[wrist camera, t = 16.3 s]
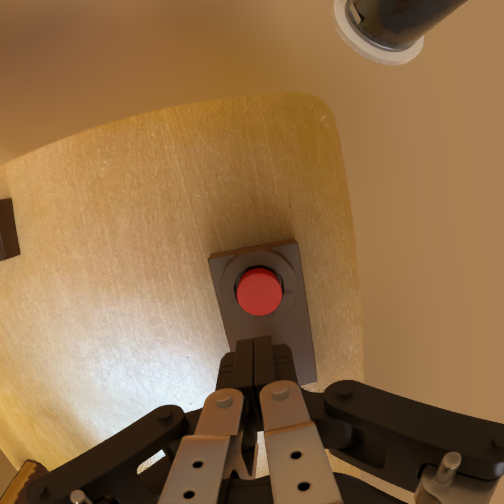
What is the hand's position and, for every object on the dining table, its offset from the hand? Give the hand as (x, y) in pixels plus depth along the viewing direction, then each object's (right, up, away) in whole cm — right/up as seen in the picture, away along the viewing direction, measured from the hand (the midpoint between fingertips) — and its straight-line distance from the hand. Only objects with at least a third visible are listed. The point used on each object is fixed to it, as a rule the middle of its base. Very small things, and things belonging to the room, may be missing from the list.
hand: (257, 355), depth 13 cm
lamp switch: (0, +1, +13) cm, 13 cm away
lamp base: (+1, -2, +17) cm, 18 cm away
